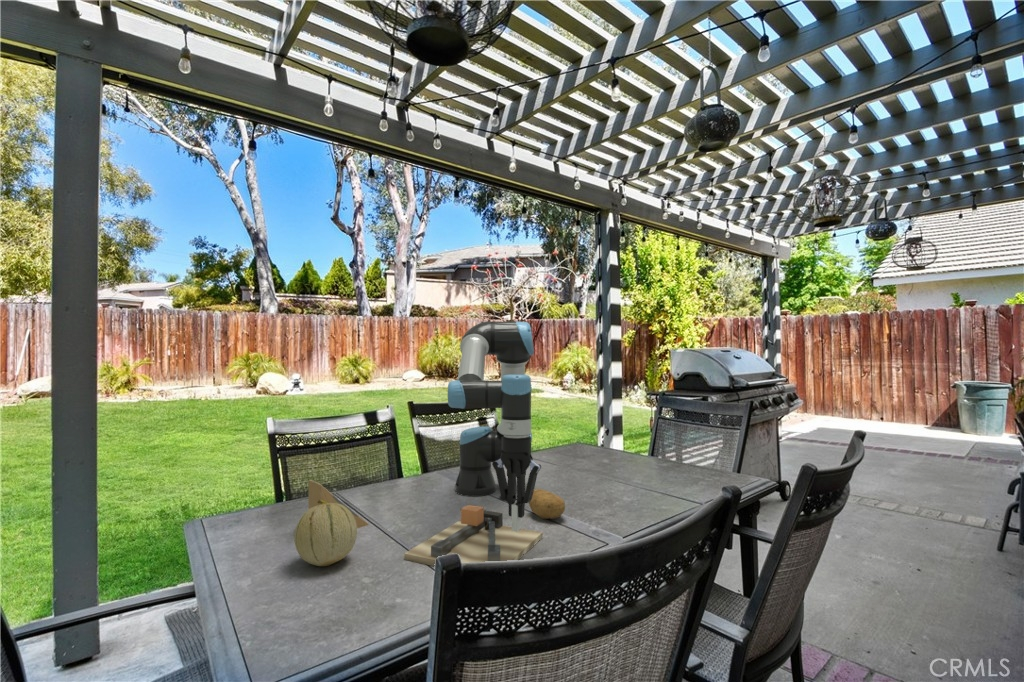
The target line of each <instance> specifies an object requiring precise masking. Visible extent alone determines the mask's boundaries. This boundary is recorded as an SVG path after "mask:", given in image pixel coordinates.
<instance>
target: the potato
mask: <svg viewBox="0 0 1024 682" xmlns="http://www.w3.org/2000/svg"><path fill="white" fill-rule="evenodd" d="M528 505H529V507H530V510H531V512H532V513H534V514H535V515H536V516H537V517H539V518H540V519H545V520H546V519H549V518H550V519H552V520H555V519H557V518H559V517H561V516H562V514H563V513H564V512H565V509H566V504H565V501H564V499H563V498H562V497H561V496H558V495H557V494H555V493H554V492H550V491H548V490H545V489H543V488H542V489H541V488H536V489H535V488H534V492H533V496H532V500H531V501H530V502H528Z"/></svg>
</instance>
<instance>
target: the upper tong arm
mask: <svg viewBox="0 0 1024 682" xmlns="http://www.w3.org/2000/svg"><path fill="white" fill-rule="evenodd" d="M485 529H486V530H489V545H488V561H500V545H495V521H492V517H485Z"/></svg>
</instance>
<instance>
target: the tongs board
mask: <svg viewBox="0 0 1024 682" xmlns="http://www.w3.org/2000/svg"><path fill="white" fill-rule="evenodd" d="M485 517H492V521H495V545H500V561H507V560H518V561H519V560H520V559H521V558H522V557H523V556H524V555H525V554H524V553H525V552H527V551H528V550H529V549H530V548H531V547H532V546H533V545H534V544H535V543H536V542H538V541H539V540H540V539H541V538H542V537H543V535H544V534H543V532H542V531H535V530H530V529H525V528H521V529H520V530H519V531H517V532H516V531H512V526H509V525H508V526H507V525H504V524H503V517H504V513H503V512H498V511H492V510H491V511H490V510H485V509H484V522H482V523H481V524H479V525H478V526H473V525H467V524H461V519H460V520H459V521H456V522H455V523H453V524H452V525H450V526H447V527H446V528H445V529H443V530H441V531H440V532H438V533H436V534H435V535H433V536H431V537H429V538H427V539H426V540H424V541H423V542H421V543H420V544H418V545H416V546H414V547H413V548H411V549H409V550H408V551H406V552H404V556H403V557H404V559H403V560H404V561H406V560H407V561H409V562H414V563H419V564H421V565H422V564H423V565H428V566H432V567H435V566H434V564H435V559H436V558H437V557H438V556H442V555H447V554H452V553H457V554H459V555H460V557H461V559H462V562H463V563H469V562H485V561H488V545H489V530H486V529H485ZM542 539H543V538H542ZM542 539H541V540H542ZM541 540H540V541H541ZM540 541H539V542H540ZM539 542H538V543H539ZM536 544H537V543H536ZM536 544H535V545H536ZM535 545H534V546H535ZM534 546H533V547H534ZM533 547H532V548H533ZM532 548H531V549H532ZM531 549H530V550H531ZM530 550H529V551H530ZM529 551H528V552H529ZM528 552H527V553H528ZM523 554H524V555H523ZM522 555H523V556H522ZM521 556H522V557H521ZM520 557H521V558H520Z"/></svg>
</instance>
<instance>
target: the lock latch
mask: <svg viewBox="0 0 1024 682" xmlns="http://www.w3.org/2000/svg"><path fill="white" fill-rule="evenodd" d="M484 510H485V509H484V507H483V506H477V505H472V504H467V505H465V506H464V507H462V508H461V509H460V520H461V524H467V525H473V526H478V525H479V524H481V523H482V522H484Z"/></svg>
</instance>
